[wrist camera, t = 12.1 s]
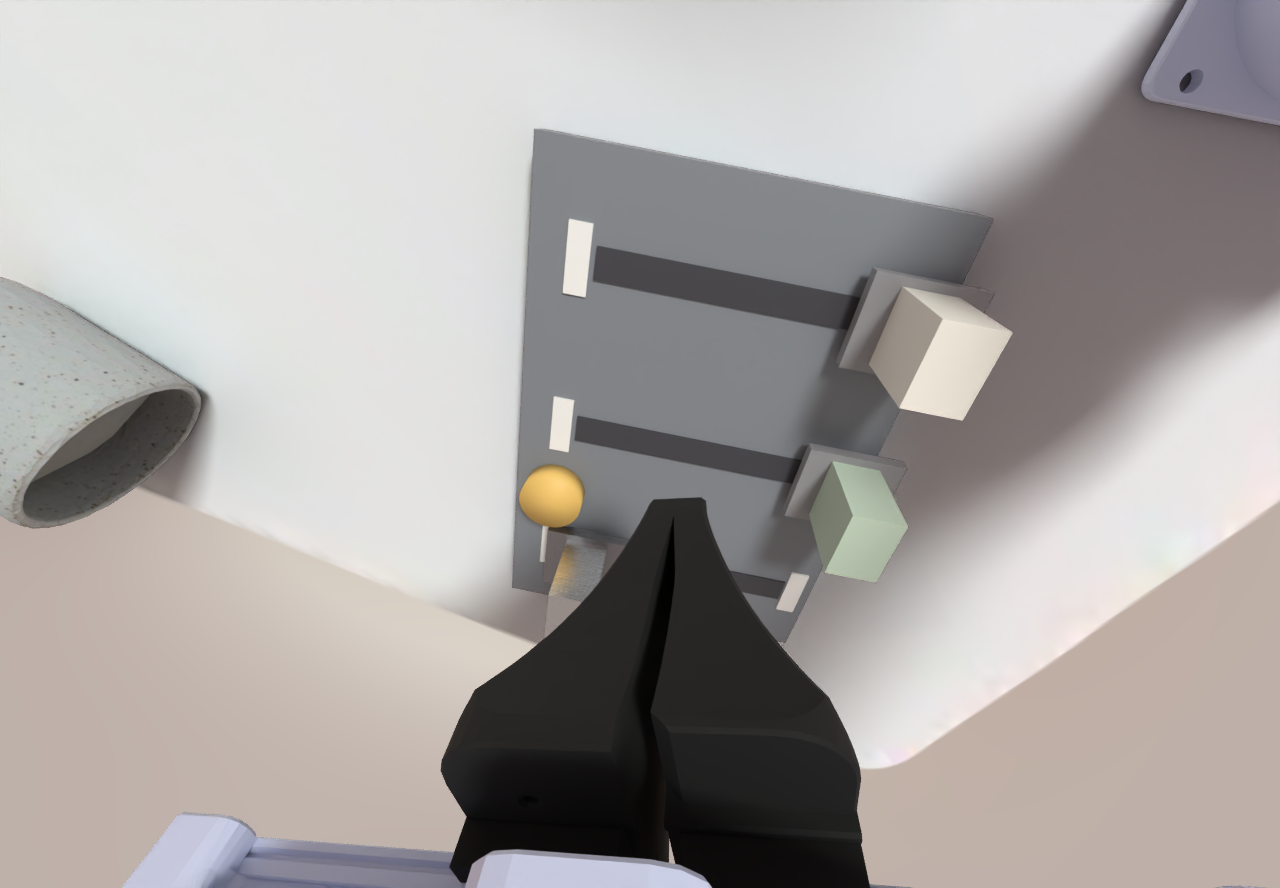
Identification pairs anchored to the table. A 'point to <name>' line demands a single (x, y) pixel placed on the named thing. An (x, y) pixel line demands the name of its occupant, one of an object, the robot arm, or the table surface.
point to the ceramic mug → (78, 412)
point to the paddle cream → (924, 341)
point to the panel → (701, 347)
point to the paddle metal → (575, 568)
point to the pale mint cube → (849, 509)
